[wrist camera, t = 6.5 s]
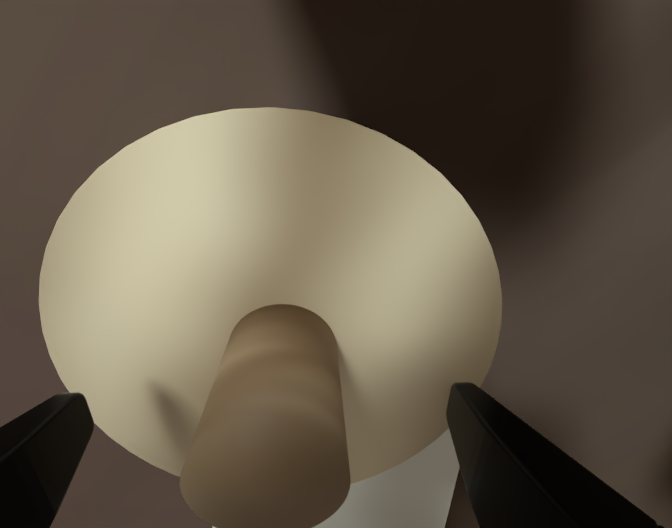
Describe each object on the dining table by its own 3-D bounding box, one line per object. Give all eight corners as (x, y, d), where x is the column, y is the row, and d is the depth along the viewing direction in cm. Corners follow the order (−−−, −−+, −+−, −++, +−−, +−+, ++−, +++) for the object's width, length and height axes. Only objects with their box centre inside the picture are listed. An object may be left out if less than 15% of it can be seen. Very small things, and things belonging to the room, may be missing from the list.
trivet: (483, 337, 17) (489, 345, 16) (440, 518, 22) (444, 528, 22) (183, 343, 16) (178, 351, 15) (217, 531, 21) (215, 542, 21)
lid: (533, 113, 8) (766, 116, 4) (452, 463, 13) (519, 629, 8) (-11, 101, 7) (-437, 87, 3) (119, 479, 12) (19, 670, 8)
